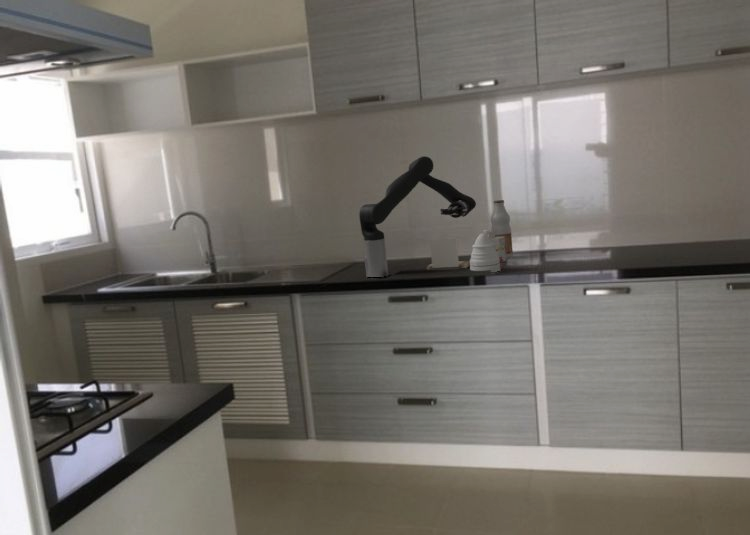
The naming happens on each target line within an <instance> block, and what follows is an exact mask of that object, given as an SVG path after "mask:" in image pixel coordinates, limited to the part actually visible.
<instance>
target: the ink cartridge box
mask: <svg viewBox="0 0 750 535" xmlns="http://www.w3.org/2000/svg"><path fill="white" fill-rule="evenodd" d="M492 233H493V235H491V234H492ZM488 237H489V239H490V240H491V242H492V243H495V244H496V245H495V246H494V248H495V250H496V253H497V255H498V257H499V259H500V262H499V263H500V264H501V263H504V262H506V261H507V259H506V254H505V236H500V237H495V231H490V232H489V234H488Z"/></svg>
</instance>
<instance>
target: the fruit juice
mask: <svg viewBox="0 0 750 535" xmlns="http://www.w3.org/2000/svg"><path fill="white" fill-rule="evenodd" d="M493 205H494V208H493V211H492V214H491V216H490V224H491V231H495V237H500V236H505V254H506V260H509V259H512V258H513V257H514V253H513V240H512V228H511V225H510V222H511V221H510V220H511V218H510V215H509V213H508V212H507V209H506V207H505V200H503V199H500V200H498V199H497V200H494V201H493ZM491 231H490V232H491ZM491 235H493V233H492V234H491Z"/></svg>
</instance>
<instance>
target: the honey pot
mask: <svg viewBox="0 0 750 535" xmlns="http://www.w3.org/2000/svg"><path fill="white" fill-rule="evenodd" d="M489 232H491V231H490V229H484V230H483V233H480V234H478V236H477V238H476V239H475V242H474V244H473V245H472V246H471V247H472V251H471V255H470V258H469V261H470V266H469V270H470V271H473V272H484V271H485V272H486V271H487V272H488V271H489V272H497V271H500V272H501V263H500V262H501V260H500V259H499V257H498V255H497V253H496V250H495V248H494V246H495V245H496V244H495V243H492V242H491V240H490V239H489ZM497 273H498V272H497Z"/></svg>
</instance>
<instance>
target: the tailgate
mask: <svg viewBox="0 0 750 535" xmlns="http://www.w3.org/2000/svg"><path fill="white" fill-rule="evenodd" d="M457 238H458V237H454V236H453V237H440V238H439V237H438V238H430V239H429V246H430V257H431V264H432V268H433V269H432V271H444V270H445V271H447V270H459V269H460V268H459V261H460V260H459V251H458V239H457ZM440 267H451V268H440Z"/></svg>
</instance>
